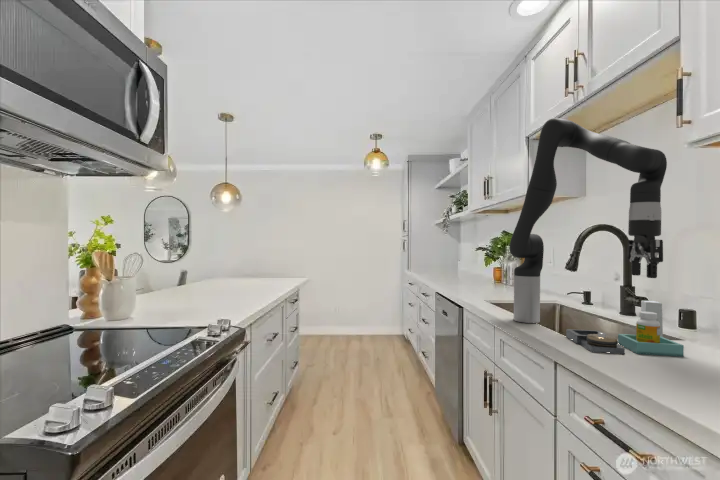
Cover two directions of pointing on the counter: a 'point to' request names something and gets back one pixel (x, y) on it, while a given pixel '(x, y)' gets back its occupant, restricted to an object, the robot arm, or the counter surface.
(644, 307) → the skincare box
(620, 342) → the tray
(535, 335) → the counter surface
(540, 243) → the robot arm
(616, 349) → the bracket
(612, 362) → the counter surface
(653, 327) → the supplement bottle
